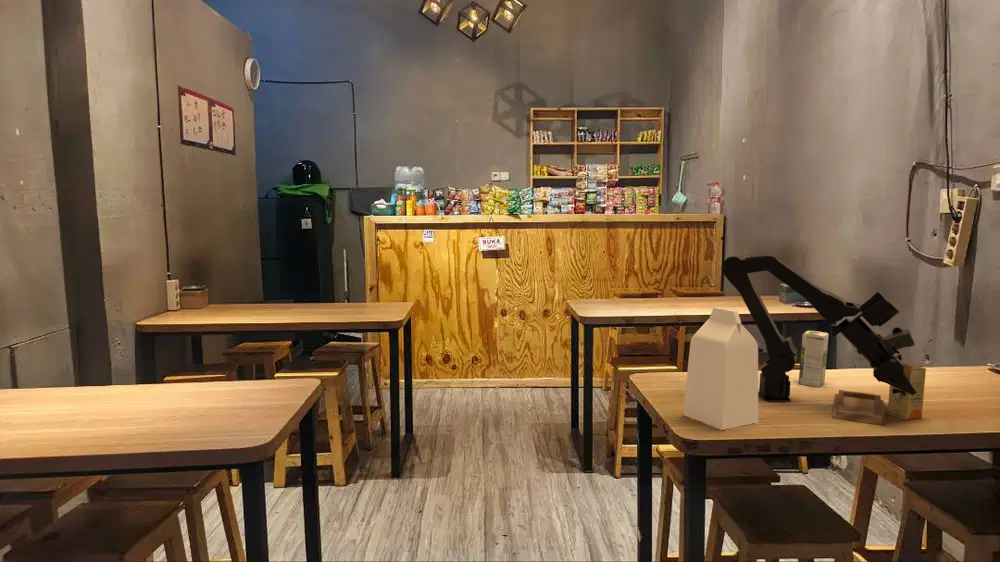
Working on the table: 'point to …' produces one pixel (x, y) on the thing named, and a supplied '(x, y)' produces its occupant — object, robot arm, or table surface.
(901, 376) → the robot arm
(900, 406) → the shoe polish box
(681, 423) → the table surface
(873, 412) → the tray
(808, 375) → the syrup box
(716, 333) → the milk
